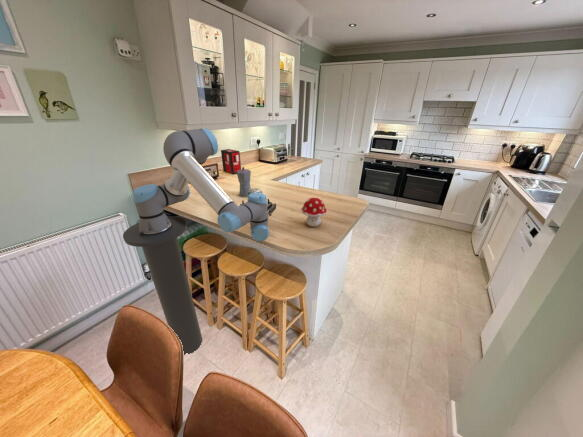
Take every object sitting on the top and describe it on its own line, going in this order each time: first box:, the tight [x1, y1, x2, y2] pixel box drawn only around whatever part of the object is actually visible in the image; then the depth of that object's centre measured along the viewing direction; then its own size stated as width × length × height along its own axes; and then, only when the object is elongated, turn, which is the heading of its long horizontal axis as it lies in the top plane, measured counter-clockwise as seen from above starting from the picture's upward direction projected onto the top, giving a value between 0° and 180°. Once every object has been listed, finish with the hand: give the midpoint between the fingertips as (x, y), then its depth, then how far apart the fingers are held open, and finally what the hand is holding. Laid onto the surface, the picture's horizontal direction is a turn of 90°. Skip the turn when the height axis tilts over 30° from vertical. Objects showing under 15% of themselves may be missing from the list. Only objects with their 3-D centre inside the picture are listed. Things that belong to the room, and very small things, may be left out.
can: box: [248, 187, 263, 195], centre depth 130 cm, size 8×8×16 cm
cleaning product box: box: [220, 148, 242, 175], centre depth 219 cm, size 16×9×20 cm, turn 48°
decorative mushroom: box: [300, 197, 328, 228], centre depth 123 cm, size 14×14×15 cm
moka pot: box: [236, 166, 252, 198], centre depth 163 cm, size 10×15×20 cm, turn 16°
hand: (255, 201), depth 127 cm, fingers open, 13 cm apart
